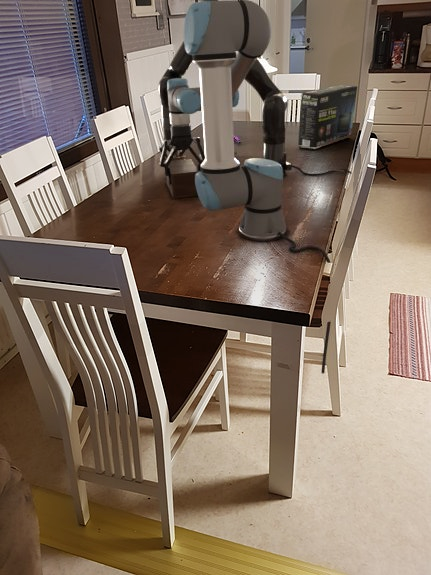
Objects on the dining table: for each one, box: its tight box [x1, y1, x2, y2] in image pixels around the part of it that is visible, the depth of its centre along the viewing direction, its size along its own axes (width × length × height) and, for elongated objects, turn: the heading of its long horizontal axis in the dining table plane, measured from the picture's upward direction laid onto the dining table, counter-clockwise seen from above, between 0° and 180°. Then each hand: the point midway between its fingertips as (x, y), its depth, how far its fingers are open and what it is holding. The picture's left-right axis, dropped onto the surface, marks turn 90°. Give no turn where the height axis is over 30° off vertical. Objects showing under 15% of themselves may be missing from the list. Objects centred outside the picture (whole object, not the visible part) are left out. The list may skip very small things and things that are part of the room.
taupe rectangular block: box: [165, 158, 199, 199], centre depth 186 cm, size 18×11×10 cm, turn 13°
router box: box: [297, 84, 358, 151], centre depth 238 cm, size 36×11×27 cm, turn 134°
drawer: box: [164, 155, 187, 177], centre depth 196 cm, size 23×10×8 cm, turn 13°
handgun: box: [234, 135, 242, 145], centre depth 257 cm, size 21×8×2 cm, turn 11°
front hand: (184, 182), depth 181 cm, fingers closed on taupe rectangular block, 11 cm apart
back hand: (174, 167), depth 204 cm, fingers closed
